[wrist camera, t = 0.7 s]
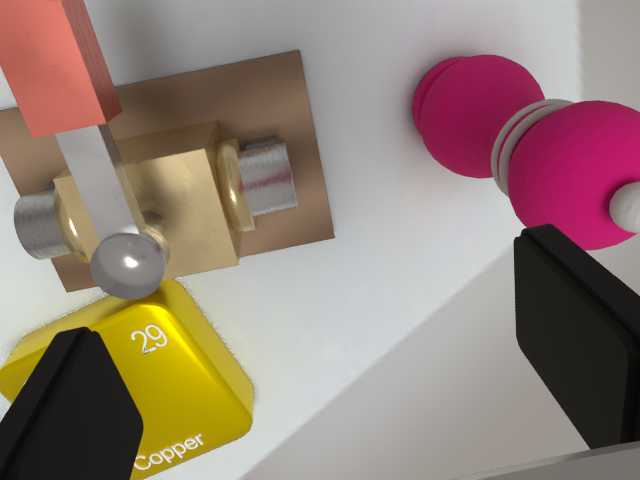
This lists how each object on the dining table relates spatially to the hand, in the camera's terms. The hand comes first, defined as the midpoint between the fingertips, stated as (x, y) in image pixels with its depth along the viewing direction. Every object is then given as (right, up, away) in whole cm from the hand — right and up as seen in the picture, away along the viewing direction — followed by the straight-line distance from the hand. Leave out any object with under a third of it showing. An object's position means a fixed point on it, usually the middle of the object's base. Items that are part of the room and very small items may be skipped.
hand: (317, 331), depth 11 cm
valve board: (-10, +7, +24) cm, 27 cm away
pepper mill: (+9, +12, +24) cm, 28 cm away
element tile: (-15, -9, +31) cm, 36 cm away
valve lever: (-10, +7, +11) cm, 16 cm away
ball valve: (-10, +6, +23) cm, 25 cm away
